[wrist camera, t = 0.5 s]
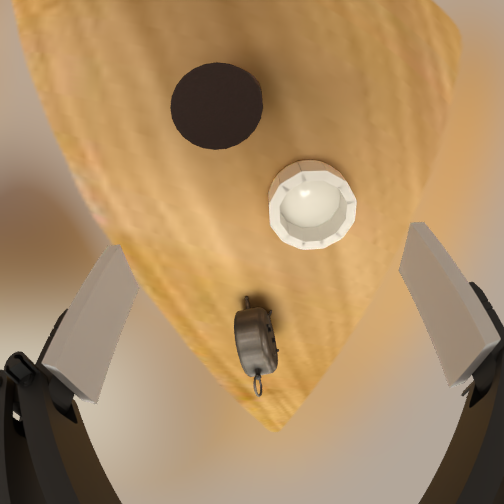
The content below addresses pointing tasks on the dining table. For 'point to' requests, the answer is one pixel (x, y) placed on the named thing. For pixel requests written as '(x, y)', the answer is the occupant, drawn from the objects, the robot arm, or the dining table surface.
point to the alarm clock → (255, 342)
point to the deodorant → (217, 105)
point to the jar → (311, 205)
